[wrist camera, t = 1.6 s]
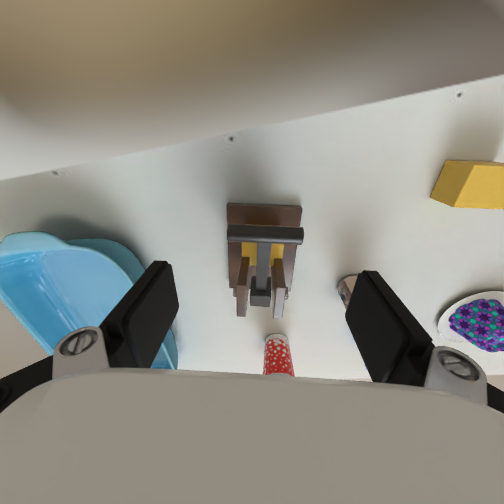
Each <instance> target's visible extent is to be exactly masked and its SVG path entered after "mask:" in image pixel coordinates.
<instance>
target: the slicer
mask: <svg viewBox="0 0 504 504" xmlns="http://www.w3.org/2000/svg"><path fill="white" fill-rule="evenodd" d="M301 214H302V207H301V206H292V205H268V204H243V203H228V204H227V228H228V224H250V225H273V226H290V227H300V221H301ZM296 249H297V245H292V244H284V249H283V258H282V259H280V258H274V267H273V266H269V270H268V277H271V290H272V304H273V318H275V319H282V315H283V308H284V300H287V299H288V291H290V290H291V283H292V276H293V269H294V262H295V255H296ZM228 258H229V287H230V288H234V289H233V296H234V297H237V316H240V317H246V310H247V301H248V291H249V289H251V277H252V276H256V266H254V265H250V257H242V242H229V241H228Z"/></svg>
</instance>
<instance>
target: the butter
mask: <svg viewBox="0 0 504 504" xmlns="http://www.w3.org/2000/svg"><path fill="white" fill-rule="evenodd" d="M245 225H250V224H245ZM267 226H273V225H267ZM283 249H284V244H272V246H271V254H270V262H269V266H273V267H274V258H280V259H282V258H283ZM242 257H250V265H254V266H256V264H257V243H250V242H242Z"/></svg>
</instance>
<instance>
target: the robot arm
mask: <svg viewBox="0 0 504 504" xmlns="http://www.w3.org/2000/svg"><path fill="white" fill-rule="evenodd" d="M178 308H179V303H178V298H177V292H176V287H175V282H174V276H173V271H172V266H171V264H168V262H167V261H154V262H153V263H152V264H151V265H150V266H149V267H148V268H147V270H146V271H145V272H144V273H143V274H142V275H141V277H140V278H139V279H138V280H137V281H136V282H135V284H134V285H133V286H132V287H131V288H130V290H129V291H128V292H127V293H126V294H125V295H124V297H123V298H122V299H121V300H120V301H119V302H118V304H117V305H116V306H115V307H114V308H113V309H112V311H111V312H110V313H109V314H108V315H107V317H106V318H105V319H104V320H103V322H102V323H101V324H100V325H99V327H95V326H87V327H82V328H79V329H77V330H74V331H72V332H70V333H69V334H67V335H66V336H64V337H63V338H62V339H61V340H60V341H59V342H58V343H57V345H56V346H55V348H54V352H53V355H51V356H49V357H47V358H45V359H43V360H41V361H38V362H36V363H34V364H32V365H30V366H28V367H25V368H23V369H21V370H19V371H17V372H15V373H12V374H10V375H8V376H6V377H4V378H2V379H0V504H504V392H503V391H501V390H499V389H498V388H496V387H494V386H492V385H490V384H489V383H487V379H486V375H485V373H484V371H483V370H482V368H481V367H480V366H479V365H478V364H477V363H476V362H475V361H474V360H473V359H471V358H470V357H469V356H467V355H465V354H464V353H462V352H460V351H458V350H456V349H453V348H450V347H445V346H438V347H435V346H434V344H433V343H432V338H431V337H430V336H429V335H428V333H427V332H426V331H425V330H424V328H423V327H422V326H421V325H420V323H419V322H418V321H417V320H416V319H415V317H414V316H413V315H412V314H411V312H410V311H409V310H408V309H407V307H406V306H405V305H404V304H403V303H402V301H401V300H400V299H399V298H398V296H397V295H396V294H395V293H394V291H393V290H392V289H391V288H390V286H389V285H388V284H387V283H386V282H385V280H384V279H383V278H382V277H381V275H380V274H379V273H378V272H377V271H367V270H364V271H362V273H359V274H358V276H357V279H356V282H355V285H354V288H353V291H352V295H351V298H350V301H349V304H348V307H347V310H346V313H345V318H346V321H347V324H348V326H349V328H350V331H351V333H352V335H353V337H354V340H355V342H356V344H357V347H358V349H359V351H360V354H361V356H362V358H363V360H364V363H365V365H366V367H367V370H368V372H369V374H370V377H371V379H372V381H373V382H365V381H351V380H336V379H322V378H307V377H292V376H276V375H260V374H244V373H228V372H210V371H193V370H175V369H153V368H151V366H152V363H153V361H154V359H155V357H156V355H157V353H158V351H159V349H160V347H161V345H162V343H163V341H164V339H165V336H166V334H167V332H168V330H169V328H170V326H171V324H172V322H173V320H174V318H175V316H176V314H177V312H178Z"/></svg>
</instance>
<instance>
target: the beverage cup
mask: <svg viewBox="0 0 504 504" xmlns="http://www.w3.org/2000/svg"><path fill="white" fill-rule="evenodd" d="M263 375H276V376H292V377H295V376H294V370H293V365H292V359H291V354H290V348H289V342H288V339H287V338H286V337H285V336H284V335H281V334H273V335H270V336H268V337H267V338H266V340H265V353H264V367H263Z"/></svg>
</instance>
